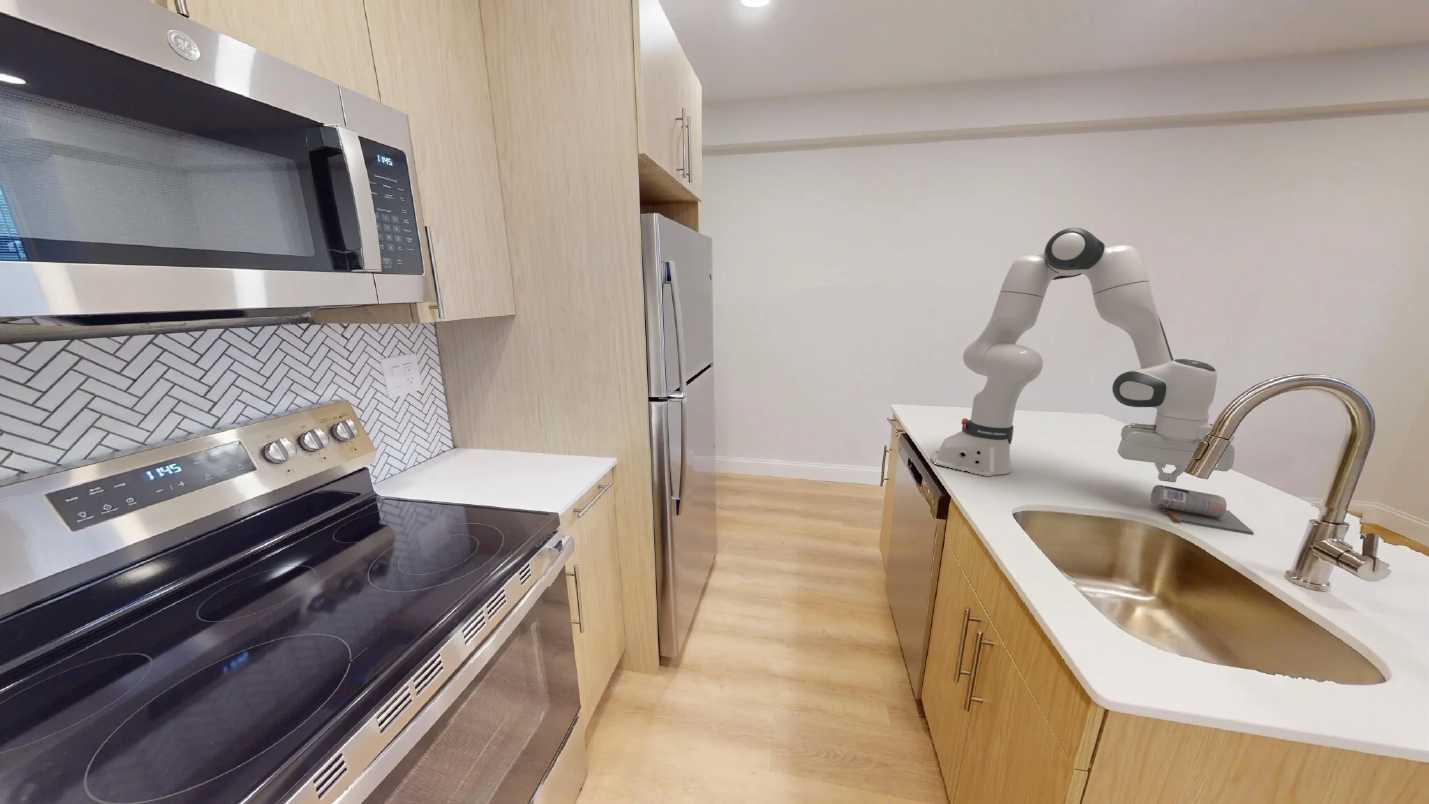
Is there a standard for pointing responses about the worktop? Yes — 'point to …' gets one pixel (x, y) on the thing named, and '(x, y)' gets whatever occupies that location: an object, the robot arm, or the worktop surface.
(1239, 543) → the worktop surface
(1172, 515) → the brown thin bar
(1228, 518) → the mat
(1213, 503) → the energy drink
